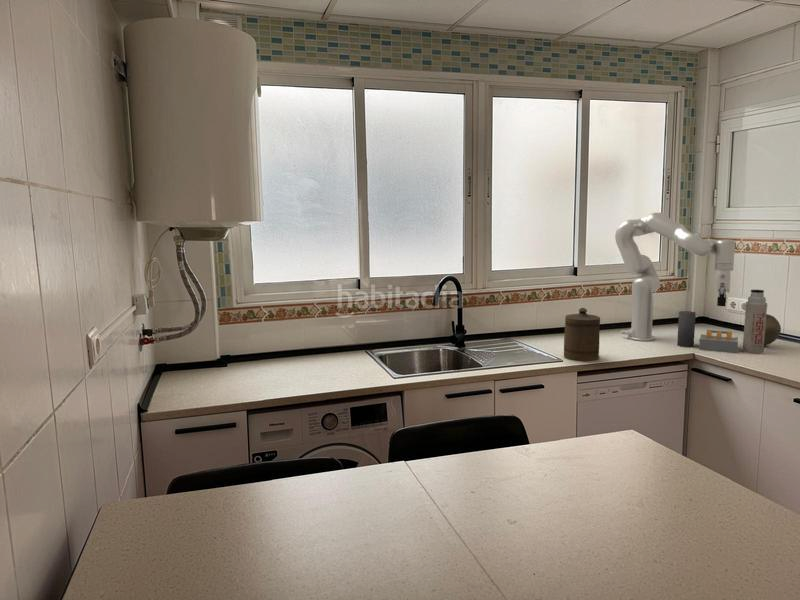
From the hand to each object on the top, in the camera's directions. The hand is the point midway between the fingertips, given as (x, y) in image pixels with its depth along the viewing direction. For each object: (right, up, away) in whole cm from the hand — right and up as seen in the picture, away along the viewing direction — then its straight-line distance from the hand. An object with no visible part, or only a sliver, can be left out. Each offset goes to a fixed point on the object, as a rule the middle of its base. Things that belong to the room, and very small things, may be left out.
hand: (721, 304), depth 256 cm
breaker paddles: (0, -15, +2) cm, 16 cm away
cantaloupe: (+22, -20, +7) cm, 31 cm away
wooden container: (-66, -23, -7) cm, 71 cm away
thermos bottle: (+12, -21, -4) cm, 25 cm away
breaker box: (0, -20, +3) cm, 21 cm away
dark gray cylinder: (-11, -20, +10) cm, 25 cm away
